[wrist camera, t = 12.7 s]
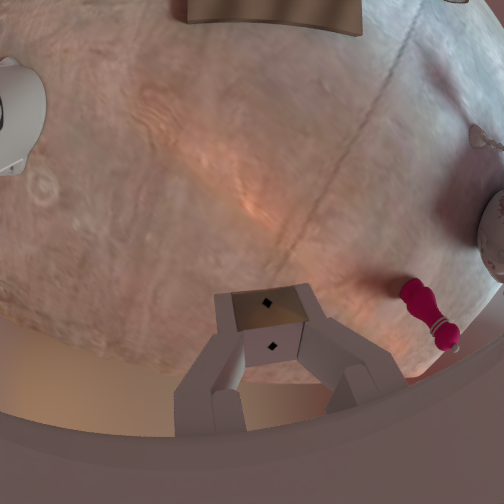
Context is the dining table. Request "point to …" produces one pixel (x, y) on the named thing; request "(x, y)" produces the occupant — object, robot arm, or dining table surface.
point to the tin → (457, 1)
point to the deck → (282, 13)
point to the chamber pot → (493, 237)
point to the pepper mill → (430, 315)
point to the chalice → (481, 139)
